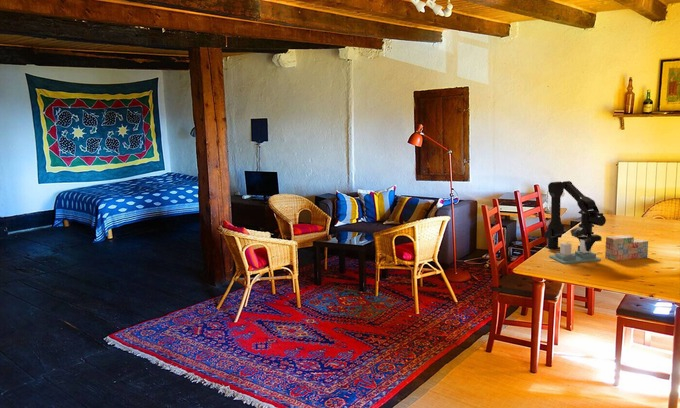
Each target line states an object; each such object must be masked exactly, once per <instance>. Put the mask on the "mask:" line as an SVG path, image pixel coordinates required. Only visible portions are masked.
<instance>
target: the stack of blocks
mask: <svg viewBox="0 0 680 408" xmlns="http://www.w3.org/2000/svg"><path fill="white" fill-rule="evenodd" d="M648 251H649V241H648V240H645V239H642V238H634V236H630V235H628V234H623V235H619V234H618V235H611V236H610V235H609V236H606V237H605V254H604V256H605V259H607V258H608V259H607V260H609V259H610V260H609V261H612V260H615V261H624V260H625V259H627V260H632V259H633V260H636V259H645V258H648V255H649V254H648V253H649V252H648ZM625 261H626V260H625Z"/></svg>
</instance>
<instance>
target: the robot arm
mask: <svg viewBox="0 0 680 408" xmlns="http://www.w3.org/2000/svg"><path fill="white" fill-rule="evenodd" d="M547 185H548V186H547V189H548V194H549V195H550V197H551V201H550V203H551V205H550V222H549V224H548V227H547V230H546V231H545V232H544V233H543V236H544V238H545V239H547V241H546V242H547V243H546V244H547V245H544V247H545V248H547V249H549V250H556V249H558V250H559V249H560V246H559V238H560V239H561V238H562V236H563V234H564V232H565V229H564V228H565V224H563V223H562V221H561V197H562V195H563V194H564V191H566V193H568V194H569V195H570V196H571V198H573V199H574V200H575V201H576V202H577V203H576V204H577V207H579V209H580V211H578V214H580V215H581V218H580V223H579V224H578V227H574V228H573V229H571V230H570V233H571V237H574V238H577V239H578V242H580V239H586V240H585V241H586V247H587V251H589V250H590V249H591V250H592V247H593V246H594V244H595V243H596V242H602V236H601V235H599V234H595V232H594V231H593V228H594V227H595V226H599V227H603V226H604V225H605V224H606V222H607V219H606V216H605V215H604V213H603V212H600V211H599V208H598V206H597V204H596V202H595V200H594V199H592V198H591V197H588V196H586V195H584V194H583V193H582V192H581V190H579V189H578V188H577V187H576V186H575V185H574V184H573V182H572V181H570V180H567V181H551V182H549V183H548V184H547Z"/></svg>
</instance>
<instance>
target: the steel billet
mask: <svg viewBox="0 0 680 408" xmlns="http://www.w3.org/2000/svg"><path fill="white" fill-rule="evenodd" d="M585 240H586V239H580V241H579V246H580V253H582V254H591V252H592V248H591V249H590V250H589V251H587V247H586V241H585Z"/></svg>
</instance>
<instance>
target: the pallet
mask: <svg viewBox="0 0 680 408" xmlns="http://www.w3.org/2000/svg"><path fill="white" fill-rule="evenodd" d="M572 245H573V244H572V243H569V242H560V246H559V247H560V248H559V249H560V250H559V251H560V252H556V253H555V254H551V255H549V256H548V257H549V258H550V259H552V260H554V261H556V262H558V263H561V264H563V265H569V264H578V263H579V262H580V263H589V261H591V262H600V261H601V260H602V259H601V258H600V257H597V253H595V252H593V251H591V254H582V253H580V251H578V250H576V251H574V253H572Z"/></svg>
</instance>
